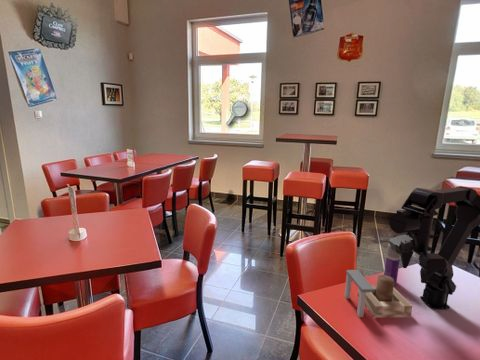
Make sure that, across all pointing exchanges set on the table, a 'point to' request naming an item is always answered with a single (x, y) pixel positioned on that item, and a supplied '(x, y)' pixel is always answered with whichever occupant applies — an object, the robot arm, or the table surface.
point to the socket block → (387, 305)
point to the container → (392, 263)
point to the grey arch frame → (361, 284)
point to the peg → (384, 288)
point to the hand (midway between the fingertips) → (413, 275)
